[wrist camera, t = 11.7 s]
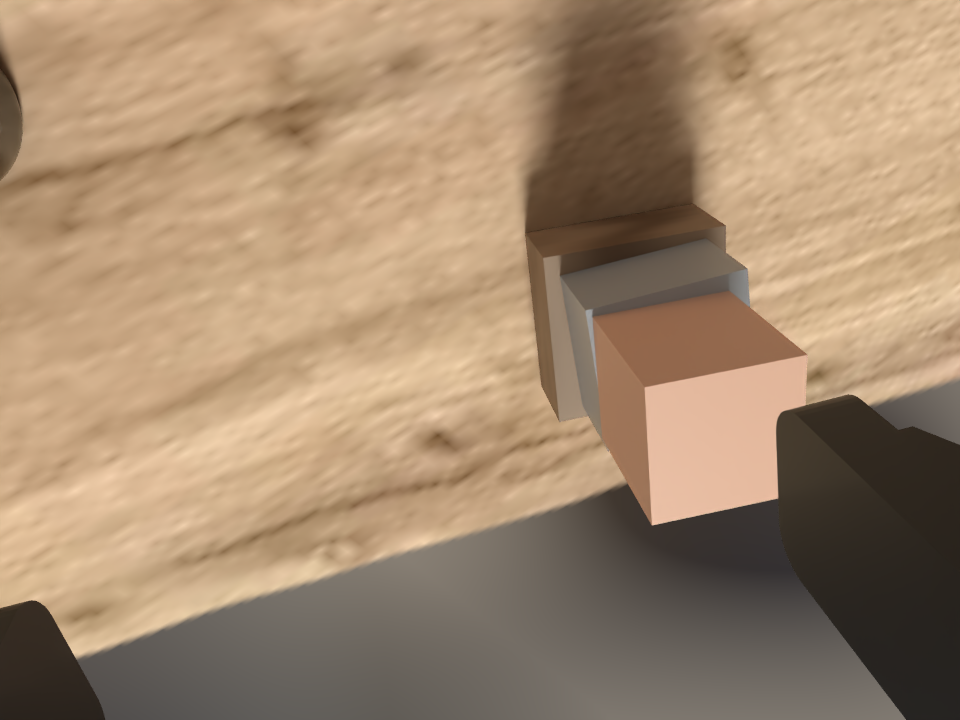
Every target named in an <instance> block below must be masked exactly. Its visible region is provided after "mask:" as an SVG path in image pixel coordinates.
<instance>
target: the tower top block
mask: <svg viewBox="0 0 960 720" xmlns="http://www.w3.org/2000/svg"><path fill="white" fill-rule="evenodd" d="M560 279H561V285H562V291H563V296H564V302H565V308H566V314H567V319H568V325H569V331H570V337H571V342H572V348H573V354H574V359H575V365H576V371H577V377H578V382H579V388H580V394H581V400H582V405H583V407H584V409H585V411H586V413H587V414H588V416H589V418H590V420H591V421H592V423H593V425H594V427H595V428H596V430H597V432H598V434H599V436H600V437H601V439H602V430H601V418H600V405H599V393H598V381H597V368H596V356H595V344H594V331H593V319H592V317H594V316H599V315H604V314H609V313H615V312H620V311H625V310H630V309H635V308H641V307H646V306H651V305H656V304H662V303H667V302H672V301H677V300H683V299H688V298H693V297H698V296H704V295H709V294H714V293H719V292H725V291H730V292H732V293H733V294H734V295H735V296H736V297H738V298H739V299H740V300H741V301H743V302H744V303H745V304H746V305H747V306H749V307H750V299H749V284H748V269H747V268H746V267H745V266H743V265H742V264H741V263H739V262H738V261H736V260H735V259H734V258H732V257H731V256H730V255H728V254H727V253H725V252H724V251H723V250H721V249H720V248H719V247H717V246H716V245H715V244H713V243H712V242H710V241H709V240H708V239H706V238H705V239H702V240H698V241H694V242H690V243H686V244H682V245H678V246H674V247H670V248H666V249H662V250H659V251H655V252H651V253H647V254H643V255H639V256H635V257H631V258H627V259H623V260H619V261H616V262H612V263H608V264H604V265H600V266H596V267H592V268H588V269H584V270H580V271H577V272H573V273H569V274H565V275H561V276H560ZM602 441H603V439H602ZM603 443H604V444H605V442H604V441H603ZM605 446H606V444H605ZM606 448H607V446H606ZM607 450H608V451H609V449H608V448H607Z"/></svg>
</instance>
